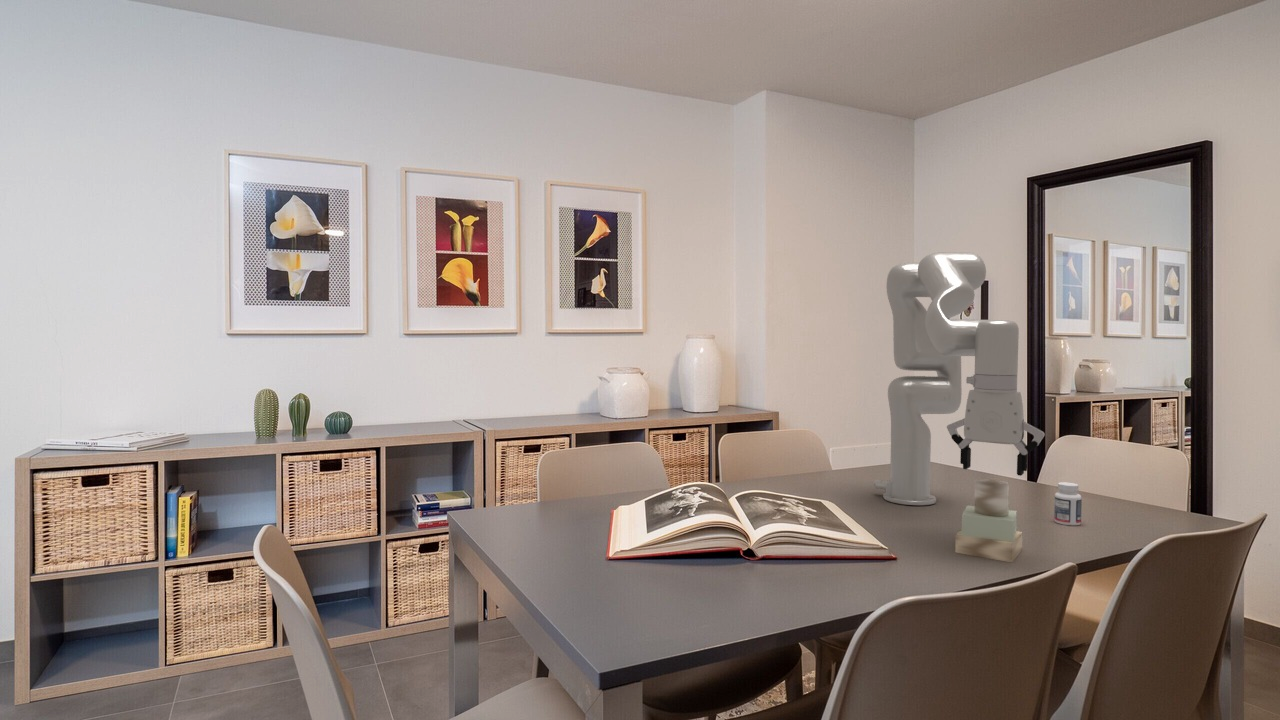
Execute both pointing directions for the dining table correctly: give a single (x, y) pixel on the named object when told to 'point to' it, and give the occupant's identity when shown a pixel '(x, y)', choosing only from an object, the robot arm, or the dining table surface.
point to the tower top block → (989, 525)
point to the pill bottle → (1067, 504)
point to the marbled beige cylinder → (991, 497)
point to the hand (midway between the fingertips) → (992, 471)
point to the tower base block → (989, 547)
